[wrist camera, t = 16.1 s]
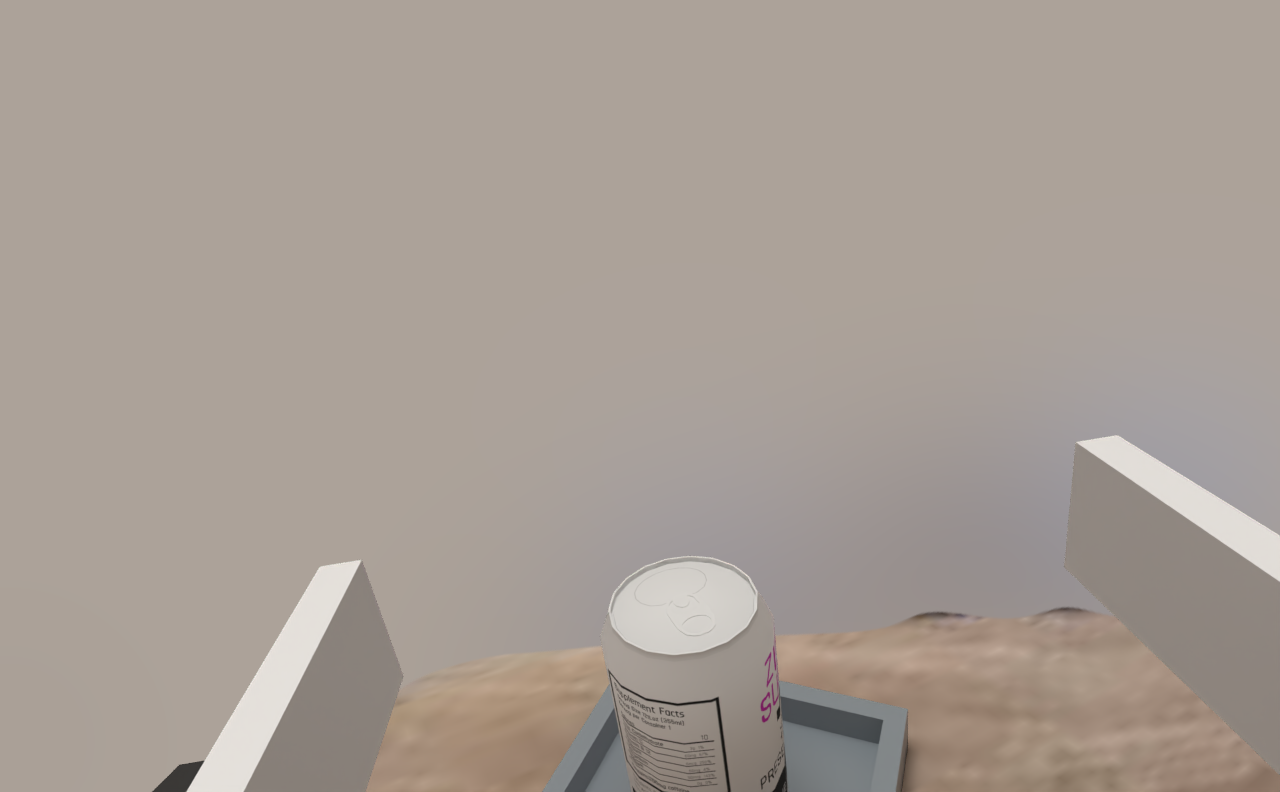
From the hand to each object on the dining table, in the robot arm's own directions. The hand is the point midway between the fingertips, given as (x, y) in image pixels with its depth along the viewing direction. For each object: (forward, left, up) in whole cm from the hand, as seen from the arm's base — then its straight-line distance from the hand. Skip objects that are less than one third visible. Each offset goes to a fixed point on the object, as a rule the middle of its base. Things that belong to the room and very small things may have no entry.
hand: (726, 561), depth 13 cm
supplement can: (+8, -14, -29) cm, 33 cm away
